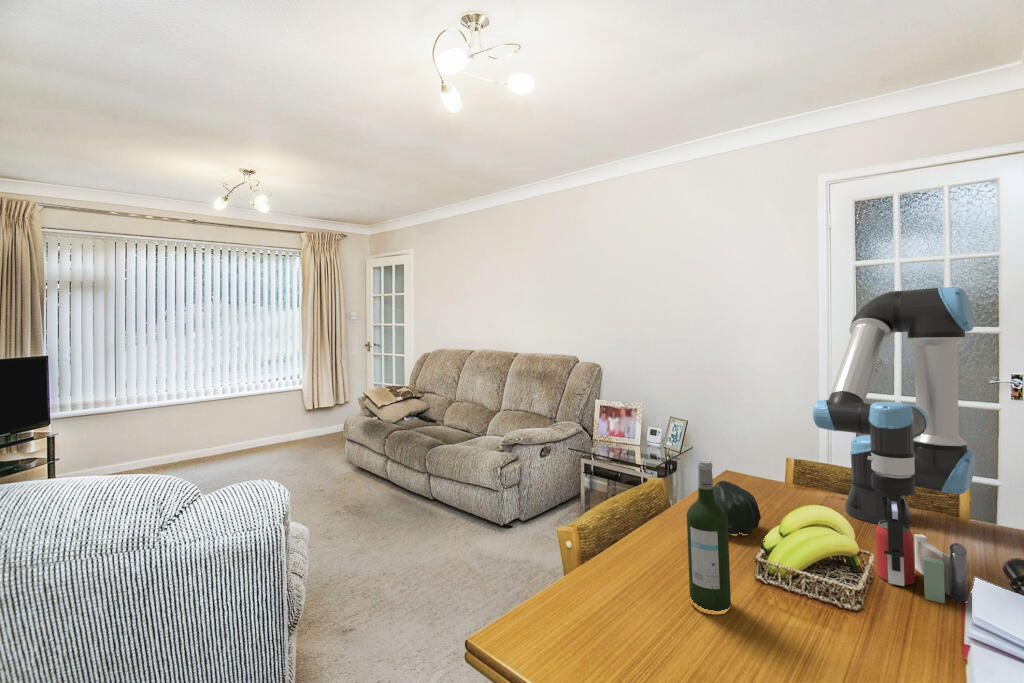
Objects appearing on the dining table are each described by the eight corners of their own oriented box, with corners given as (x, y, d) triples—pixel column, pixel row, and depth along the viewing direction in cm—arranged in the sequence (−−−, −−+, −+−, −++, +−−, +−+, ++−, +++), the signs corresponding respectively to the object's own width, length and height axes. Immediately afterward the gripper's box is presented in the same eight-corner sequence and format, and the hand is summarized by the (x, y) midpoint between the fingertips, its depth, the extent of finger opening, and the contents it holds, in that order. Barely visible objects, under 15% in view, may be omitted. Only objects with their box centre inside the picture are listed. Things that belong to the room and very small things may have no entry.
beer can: (921, 587, 103) (920, 531, 103) (886, 585, 105) (885, 530, 104) (903, 572, 110) (902, 519, 109) (870, 570, 111) (869, 518, 111)
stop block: (924, 594, 101) (923, 556, 100) (943, 598, 99) (942, 560, 99) (925, 599, 99) (924, 560, 99) (944, 603, 97) (943, 564, 97)
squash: (773, 508, 136) (733, 465, 141) (768, 530, 124) (724, 482, 128) (733, 533, 142) (696, 491, 147) (725, 557, 130) (684, 510, 135)
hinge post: (949, 595, 100) (948, 539, 100) (967, 599, 98) (965, 542, 98) (951, 601, 98) (950, 544, 97) (969, 605, 96) (967, 547, 96)
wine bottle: (729, 597, 103) (723, 457, 102) (733, 618, 96) (727, 467, 95) (689, 592, 106) (684, 455, 105) (690, 612, 98) (684, 466, 97)
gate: (957, 595, 100) (956, 557, 99) (948, 595, 100) (947, 556, 100) (923, 569, 110) (922, 534, 110) (915, 568, 111) (914, 534, 111)
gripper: (870, 460, 117) (873, 554, 117) (871, 483, 101) (875, 592, 101) (910, 464, 112) (913, 562, 113) (918, 488, 96) (921, 602, 97)
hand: (895, 576), depth 107 cm, fingers closed on beer can, 6 cm apart
